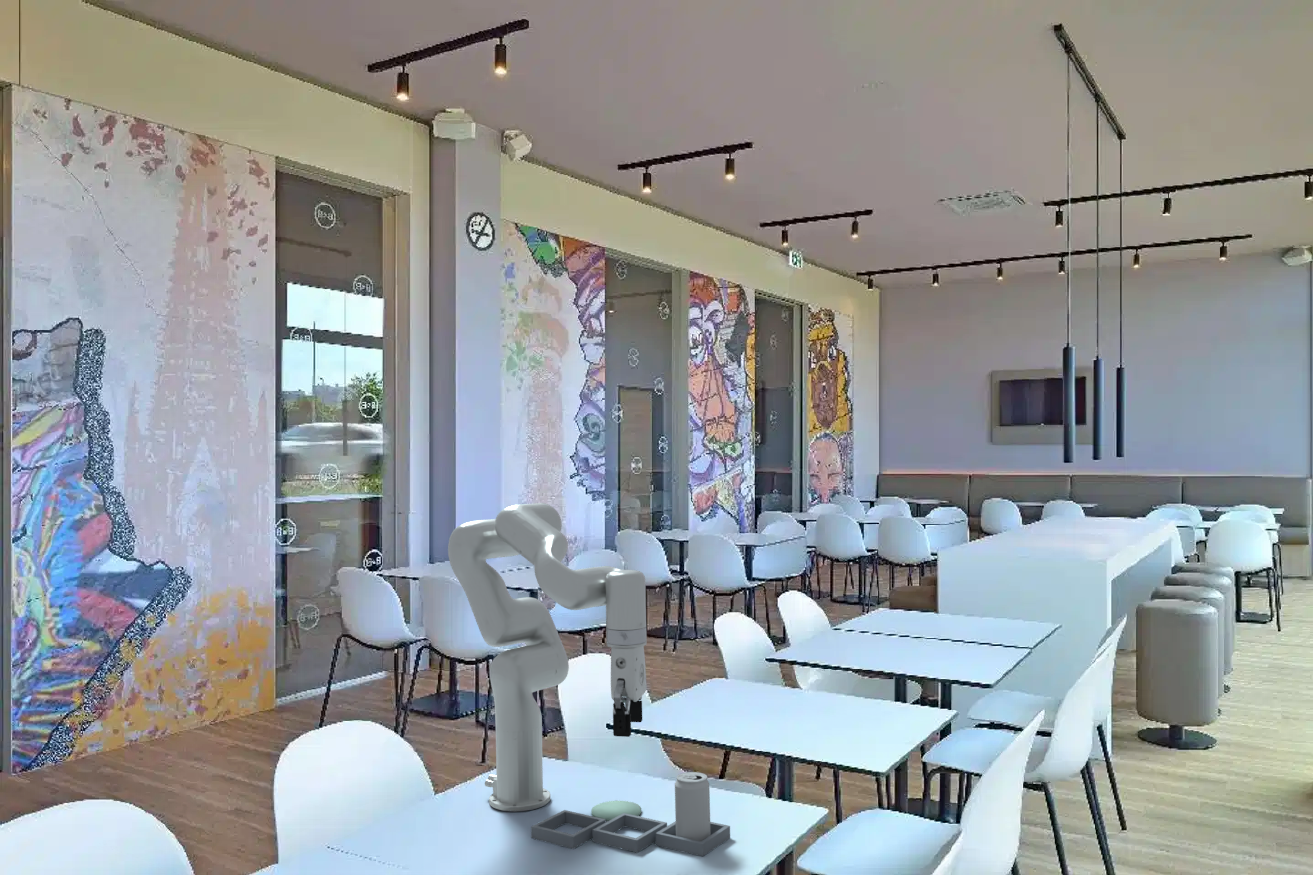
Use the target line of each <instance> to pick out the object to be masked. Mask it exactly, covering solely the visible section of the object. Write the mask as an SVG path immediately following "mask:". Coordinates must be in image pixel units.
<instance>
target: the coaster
mask: <svg viewBox="0 0 1313 875" xmlns="http://www.w3.org/2000/svg"><path fill="white" fill-rule="evenodd" d="M623 813H626V814H631V815H635V816H640V815H641V813H642V807H641V805H639V804H638V803H635V802H633V801H629V800H627V801H626V800H611V801H610V800H609V801H605V802H604V801H603V802H601V803H597V804H596V805H593V806H592V808H591V812H590V814H591V816H593V817H598V818H602V819H606V822H608V821H610V820H612V819H613V818H615V817H617V816H619V815H621V814H623Z"/></svg>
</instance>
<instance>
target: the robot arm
mask: <svg viewBox="0 0 1313 875" xmlns="http://www.w3.org/2000/svg"><path fill="white" fill-rule="evenodd" d="M561 531H562V518H561V515H560V513H559V512H558V511H557V509H556V508H555V507H554V506H552V505H550V504H547V503H543V502H542V503H541V502H539V503H536V502H535V503H525V504H520V503H519V504H513V505H510V506H509V505H508V506H507V507H505V508H503V509H501V510H500V512H498V514H497V515H496V517H495V518H493V519H491V518H490V519H478V520H472V521H467V522H464V523H462V524H460V525H458V526H456V527H455V528H454V529H453V531H452V532H451V534H450V536H449V539H448V547H447V554H448V560H449V563H450V566H451V570H452V572H453V573H454V574H453V575H454V576H455V577H456V578H457V581H458V582H459V584H460V585H461V588H462V589H463V591H464V592H465V595H466V598H467V600H468V603H469V606H470V608H471V612H472V613H473V616H474V619H475V622H476V625H477V627H478V629H479V632H480V635H481V637H482V639H483V640H484V642H485V643H486V644H487V645H488V646H490V647H493V648H501V647H507V646H513V645H514V646H515V645H517V644H518V645H519V644H522V643H523V644H524V646H519V647H515V648H510V649H507V650H504V651H502V652H499V654H497V655H496V656H495V657H494V658H493V660H491V663H490V666H489V679H490V681H489V682H490V685H491V689H492V694H493V701H494V716H495V717H494V718H495V720H494V721H495V723H494V725H495V757H496V758H495V761H496V762H495V764H496V767H495V768H496V770H495V771H496V774H493V773H490V774H489V775H488V777H487V779H486V780H485V781H484V786H485V787H488V788H492V792H493V793H492V794H491V795H490V796H489V798H488V799H489V800H488V801H489V806H490V807H492V808H494V809H495V810H499V811H504V812H525V811H531V810H532V811H533V810H536V809H539V808H541V807H544V806H546V805H547V804H548V803H550V802H551V792H550V791H549V790H548V789H546V788H544V785H543V784H544V780H543V779H544V778H543V777H544V776H543V773H544V772H543V770H544V769H543V765H544V764H543V728H542V727H543V726H542V725H543V722H542V721H543V720H542V713H541V708H540V706H539V705H538V703H537V701H536V700H535V697H534V695H533V693H535V692H537V691H542V690H546V689H550V688H552V687H555V686H559V685H561V684H562V683H563V682H564V681H566V679H567V677H568V674H569V669H570V668H569V659H568V655H567V652H566V649H565V647H564V645H563V641H562V640H561V637H560V634H559V632H558V630H557V628H556V625H555V622H554V620H553V617H552V615H551V613H550V611H549V610H548V608H547V606H546V605H545V603H543V602H542V601H540V600H539V599H538V598H535V597H531V596H530V597H529V596H528V597H519V598H513V597H512V596H511V594H510V593H509V590H508V587H507V585H506V582H505V580H504V579H503V577H502V576H501V574H500V573H499V572H498V571H497V570H496V569H495V568H494V567H492V566H491V565H490V564H489V563H488V562H487V560H489V559H490V560H491V559H498V558H499V559H501V558H507V557H517V556H519V555H520V556H522V557H523V558H525V560H527V562H529V563H530V564H532V565H533V566H534V567H533V568H534V570H533V571H534V576H535V578H536V582H537V585H538V586H539V587H540V590H541V591H542V592H543V593H544V594H545V595H546V596H548V597H549V598H550V599H551V600H553V601H554V602H555V603H556V604H558V605H559V606H561V607H563V608H565V609H567V610H570V611H581V610H586V609H590V608H598V607H604V606H605V621H606V622H605V627H606V628H605V631H606V634H605V636H606V638H605V639H606V646H607V647H608V648H611V651H610V652H611V653H610V696H611V699H612V701H613V704H612V706H613V708H612V723H613V724H612V731H613V732H612V733H613V737H624V738H625V737H627V738H628V737H629V738H630V737H631V735H632V723H642V721H643V700H642V698H643V696H644V695H645V693H646V692H647V686H648V685H647V672H646V671H647V670H646V655H645V647H644V646H647V645H648V644H647V642H648V641H647V599H646V598H647V596H646V590H647V588H646V577H645V574H644V573H643V572H642V571H640V570H638V569H637V570H635V569H620V568H617V567H616V566H615V567H614V566H610V565H604V566H602V565H601V566H595V567H594V566H592V567H586V568H579V569H572V568H569V567H568V566H566V565H565V564H564V563H563V560H564V558H565V557H566V554H567V552H568V546H569V545H568V539H567V537H566V536H565V535H564V533H563V532H561Z"/></svg>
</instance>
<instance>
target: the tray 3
mask: <svg viewBox="0 0 1313 875" xmlns="http://www.w3.org/2000/svg"><path fill="white" fill-rule="evenodd" d="M710 832H711V835H710V836H709V837H707V838H706V839H704V840H703V841H701V842H700V841H696V840H691V839H687V838H683V837H678V836H676V820H674V821H673V822H672V823H670V824H669V825H668V824H667V827H665V828H663V829H662V830H660V831H658V832H657V833H656V842H655V846H657V847H661V848H666V849H670V850H674V851H678V852H682V853H687V854H691V855H694V856H699V857H705V856H706V855H707V854H709V853H710V852H712V851H713V850H715V849H716V848H718V847H720V846H721V845H722V844H724V843H725V842H726V841H729V839H731V825H726V824H723V823H718V822H714V821H710ZM714 848H715V849H714Z"/></svg>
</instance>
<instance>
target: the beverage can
mask: <svg viewBox="0 0 1313 875" xmlns="http://www.w3.org/2000/svg"><path fill="white" fill-rule="evenodd" d="M710 794H711V793H710V782H709V780H708V775H707V774H705V773H702V772H698V771H696V772H695V771H688V772H682V773H679V774H678V775H676V780H675V783H674V801H675V802H674V804H675V805H674V808H675V809H674V811H675V821H676V836H678V837H683V838H687V839H691V840H696V841H700V842H701V841H703V840H704V839H706V838H707V837H709V836H710V835H711V832H710V822H711V802H710V801H711V800H710V799H711V798H710Z"/></svg>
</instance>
